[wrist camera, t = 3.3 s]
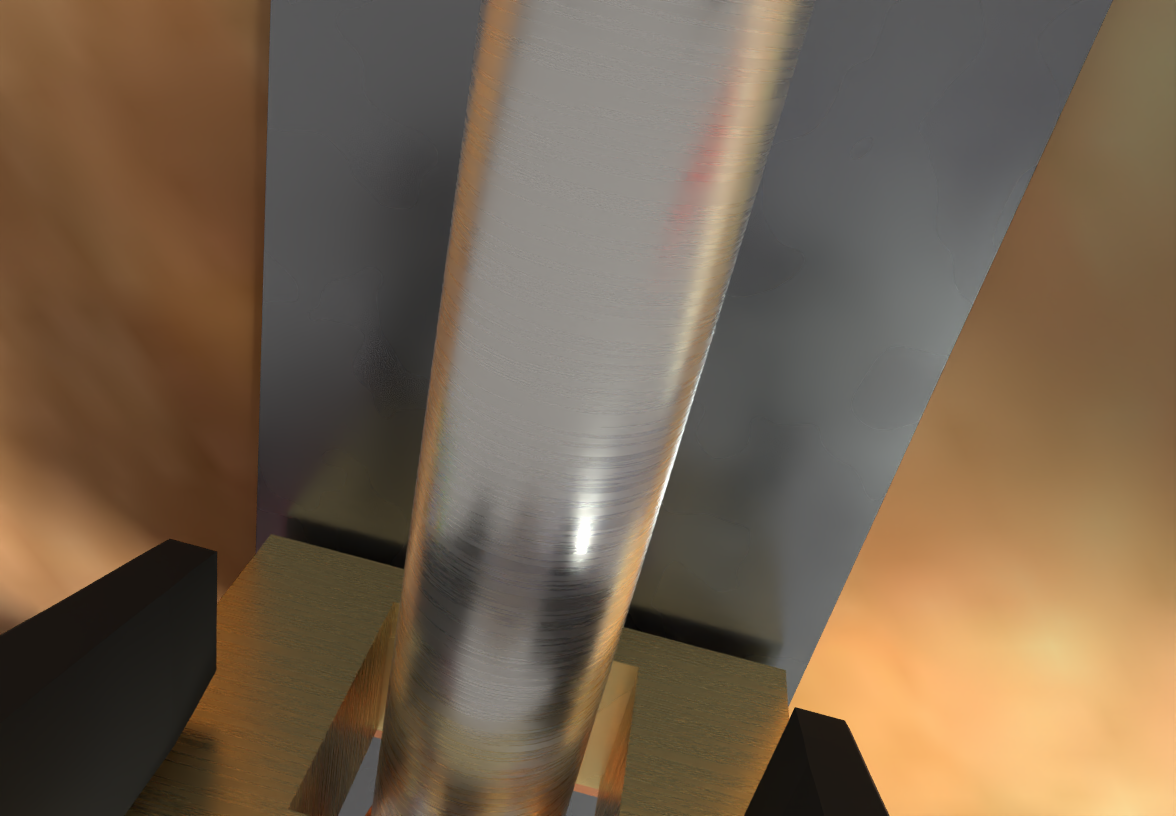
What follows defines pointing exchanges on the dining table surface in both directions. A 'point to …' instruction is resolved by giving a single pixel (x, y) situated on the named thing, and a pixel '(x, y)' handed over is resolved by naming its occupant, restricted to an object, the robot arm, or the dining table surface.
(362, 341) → the pipe stand
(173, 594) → the robot arm
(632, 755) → the yellow block with hole
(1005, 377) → the dining table surface
